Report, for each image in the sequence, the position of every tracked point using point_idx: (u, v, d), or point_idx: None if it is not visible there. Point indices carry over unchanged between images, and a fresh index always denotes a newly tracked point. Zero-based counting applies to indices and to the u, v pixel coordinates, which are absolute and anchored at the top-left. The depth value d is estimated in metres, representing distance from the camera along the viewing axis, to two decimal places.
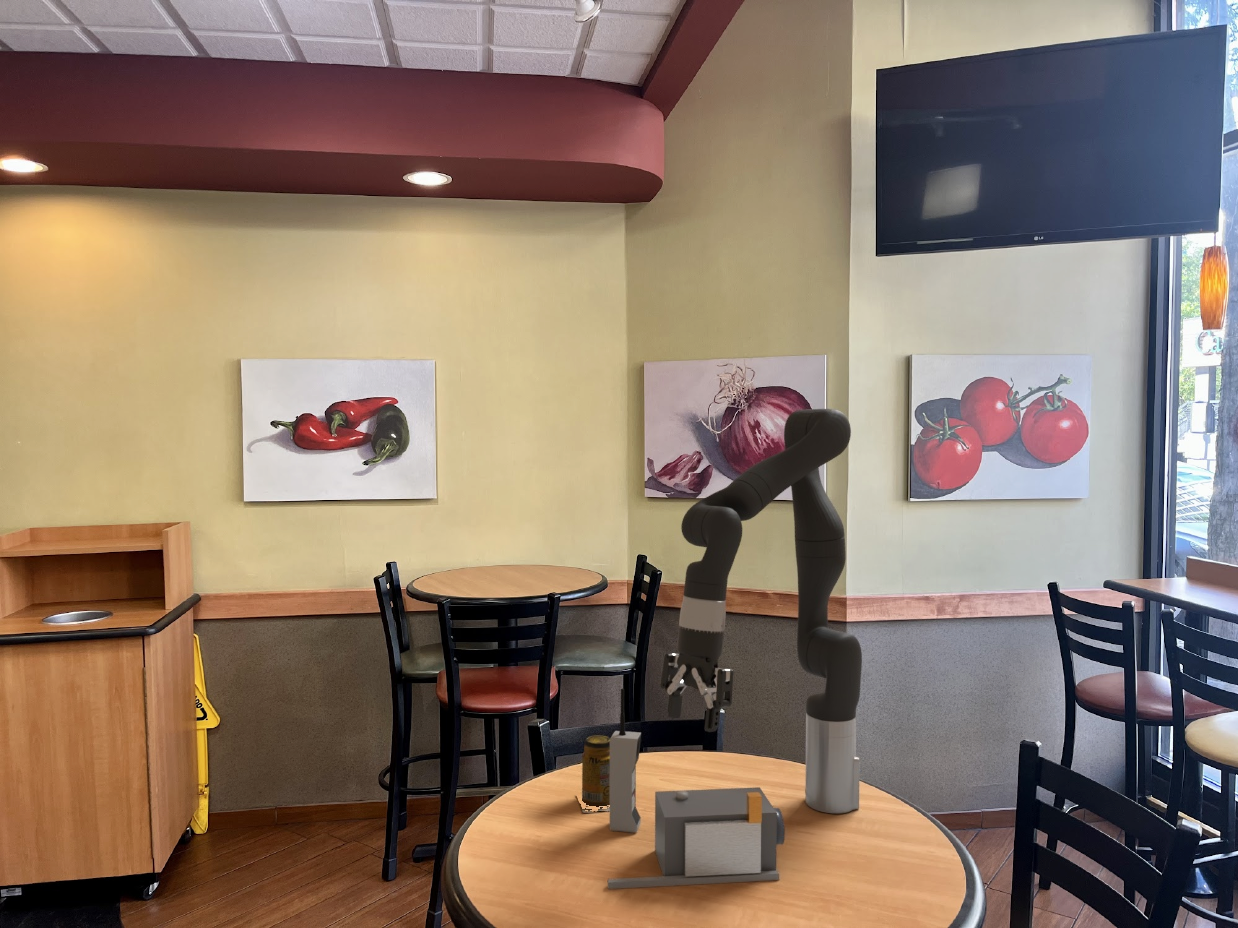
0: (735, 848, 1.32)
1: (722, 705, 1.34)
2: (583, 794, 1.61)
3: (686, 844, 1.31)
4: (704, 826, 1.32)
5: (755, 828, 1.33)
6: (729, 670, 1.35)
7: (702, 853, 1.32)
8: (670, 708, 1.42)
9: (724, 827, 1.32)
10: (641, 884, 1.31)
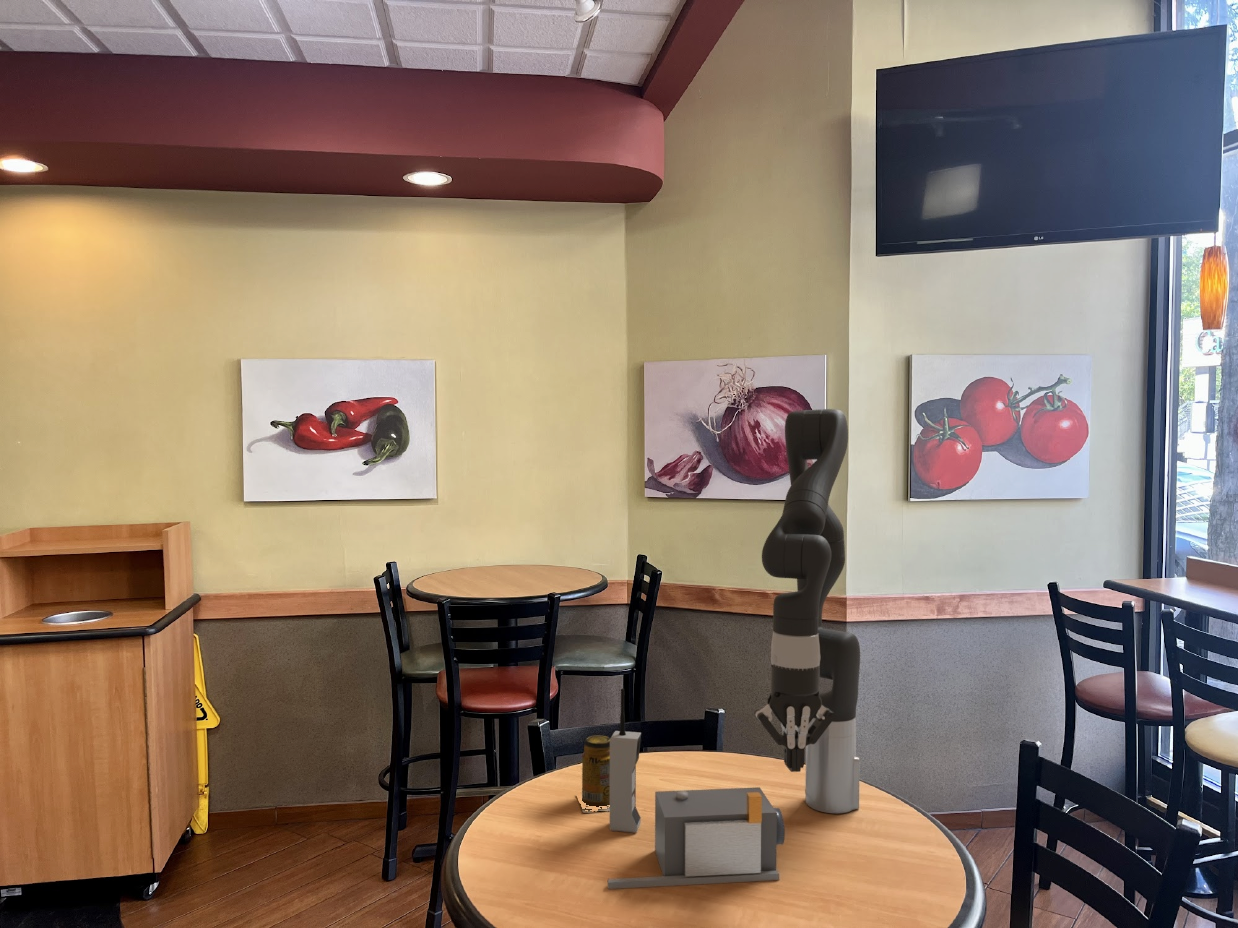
0: (735, 848, 1.32)
1: None
2: (583, 794, 1.61)
3: (686, 844, 1.31)
4: (704, 826, 1.32)
5: (755, 828, 1.33)
6: None
7: (702, 853, 1.32)
8: (794, 762, 1.32)
9: (724, 827, 1.32)
10: (641, 884, 1.31)
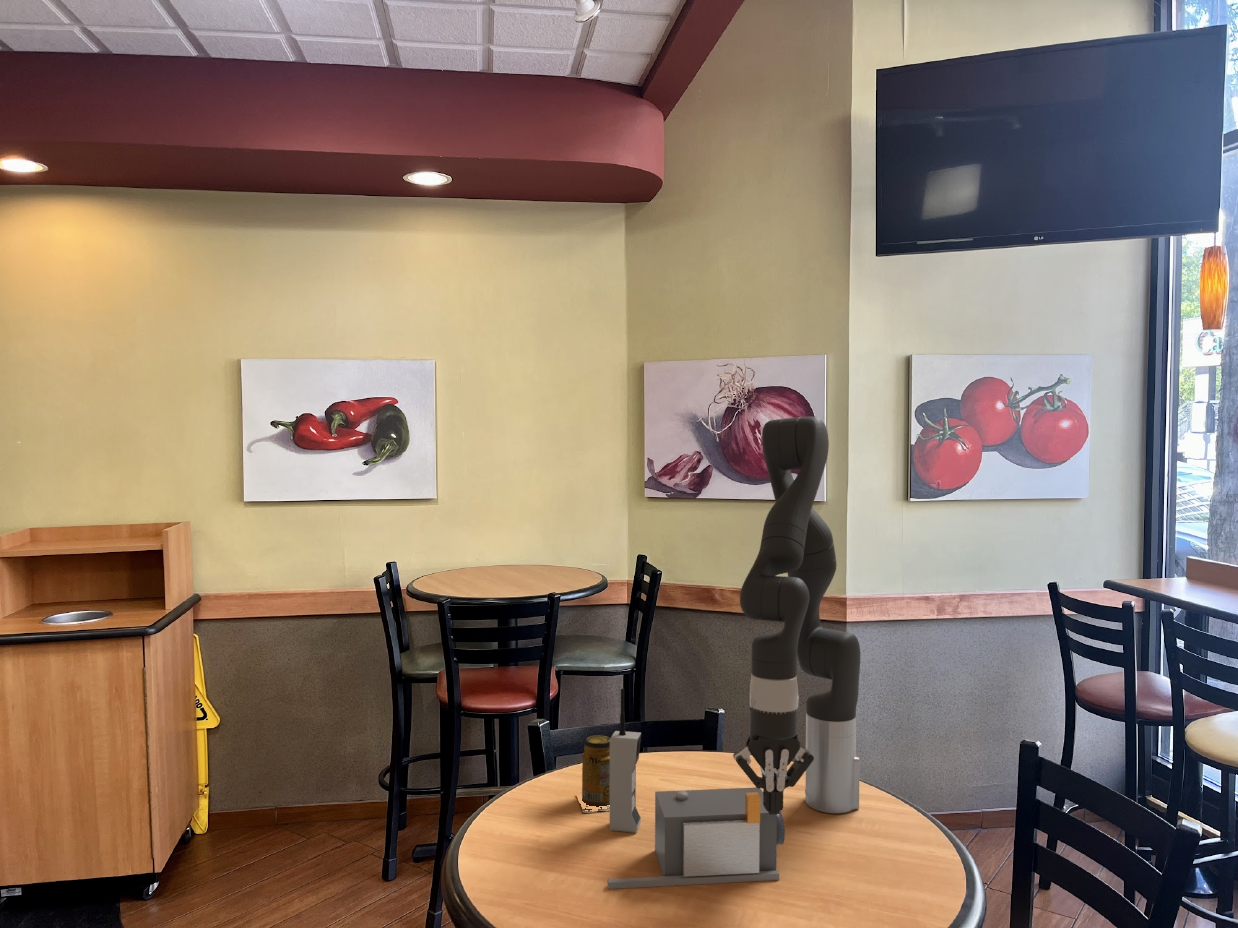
0: (733, 848, 1.32)
1: None
2: (583, 794, 1.61)
3: (684, 844, 1.31)
4: (702, 826, 1.32)
5: (754, 828, 1.33)
6: None
7: (701, 853, 1.32)
8: (773, 805, 1.32)
9: (722, 827, 1.32)
10: (641, 884, 1.31)
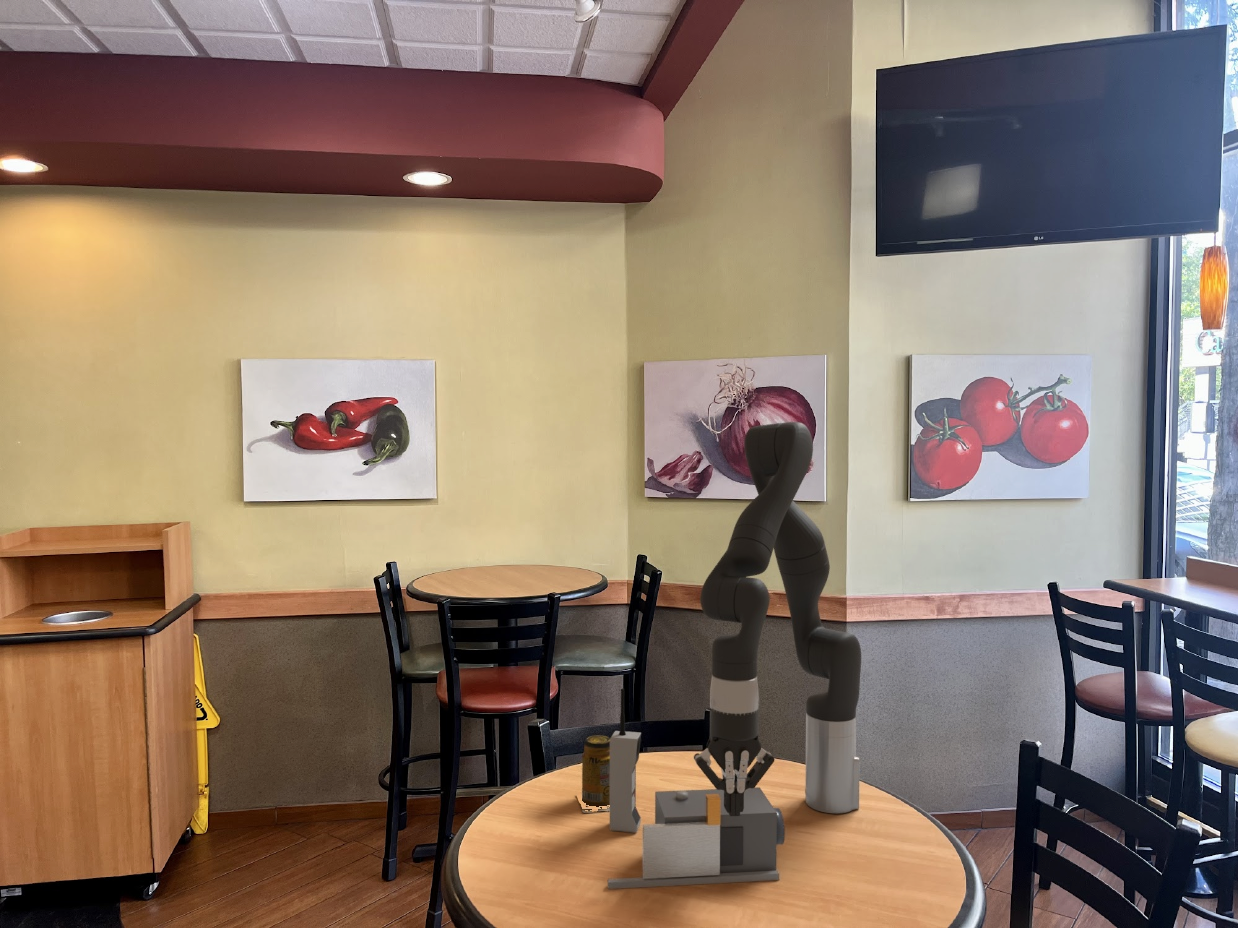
0: (694, 850, 1.32)
1: None
2: (583, 794, 1.61)
3: (644, 846, 1.31)
4: (662, 828, 1.31)
5: (714, 830, 1.32)
6: None
7: (661, 855, 1.31)
8: (733, 806, 1.31)
9: (683, 829, 1.31)
10: (641, 884, 1.31)
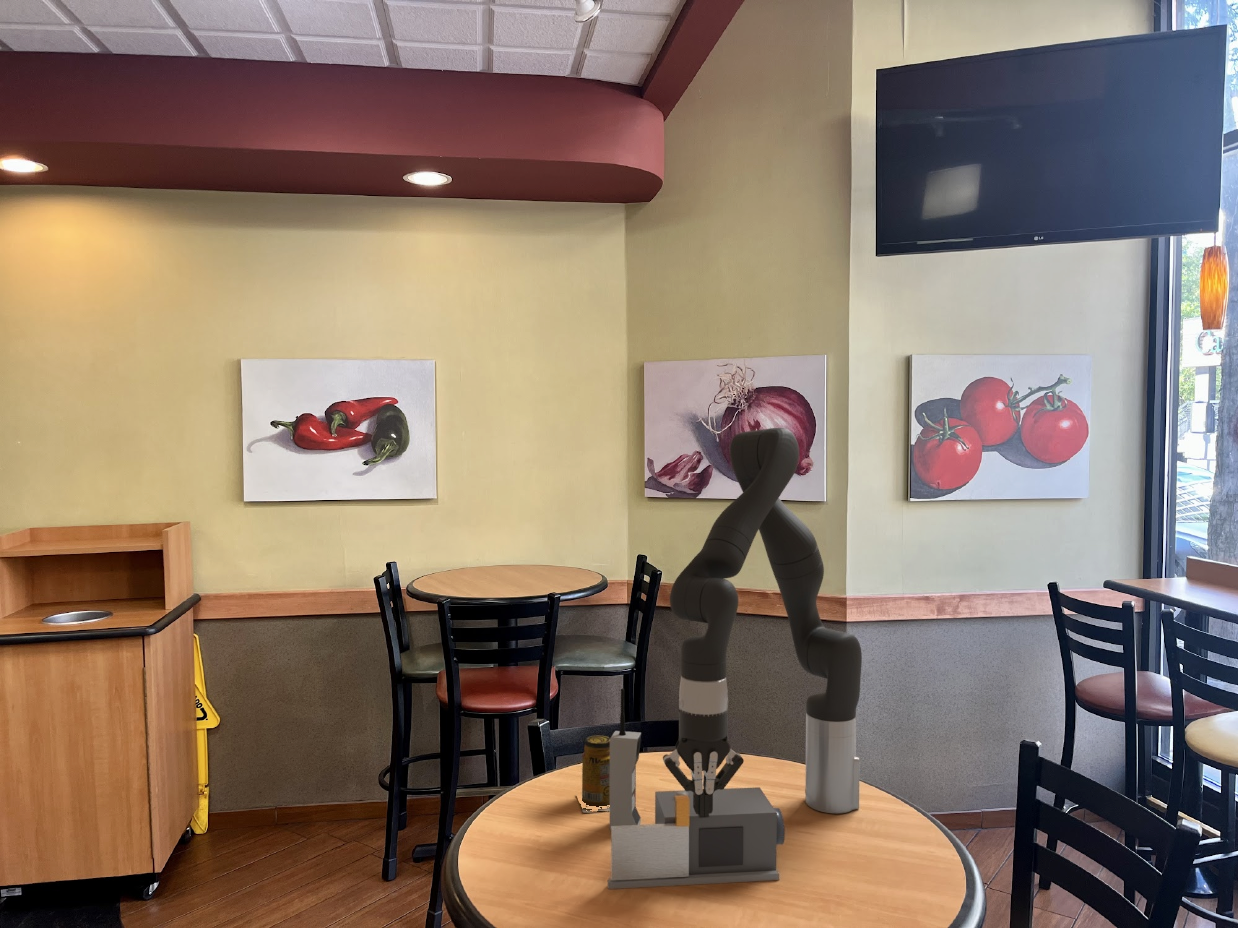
0: (662, 852, 1.31)
1: None
2: (583, 794, 1.61)
3: (612, 848, 1.30)
4: (631, 829, 1.30)
5: (683, 831, 1.31)
6: None
7: (629, 857, 1.31)
8: (702, 808, 1.31)
9: (651, 830, 1.31)
10: (641, 884, 1.31)
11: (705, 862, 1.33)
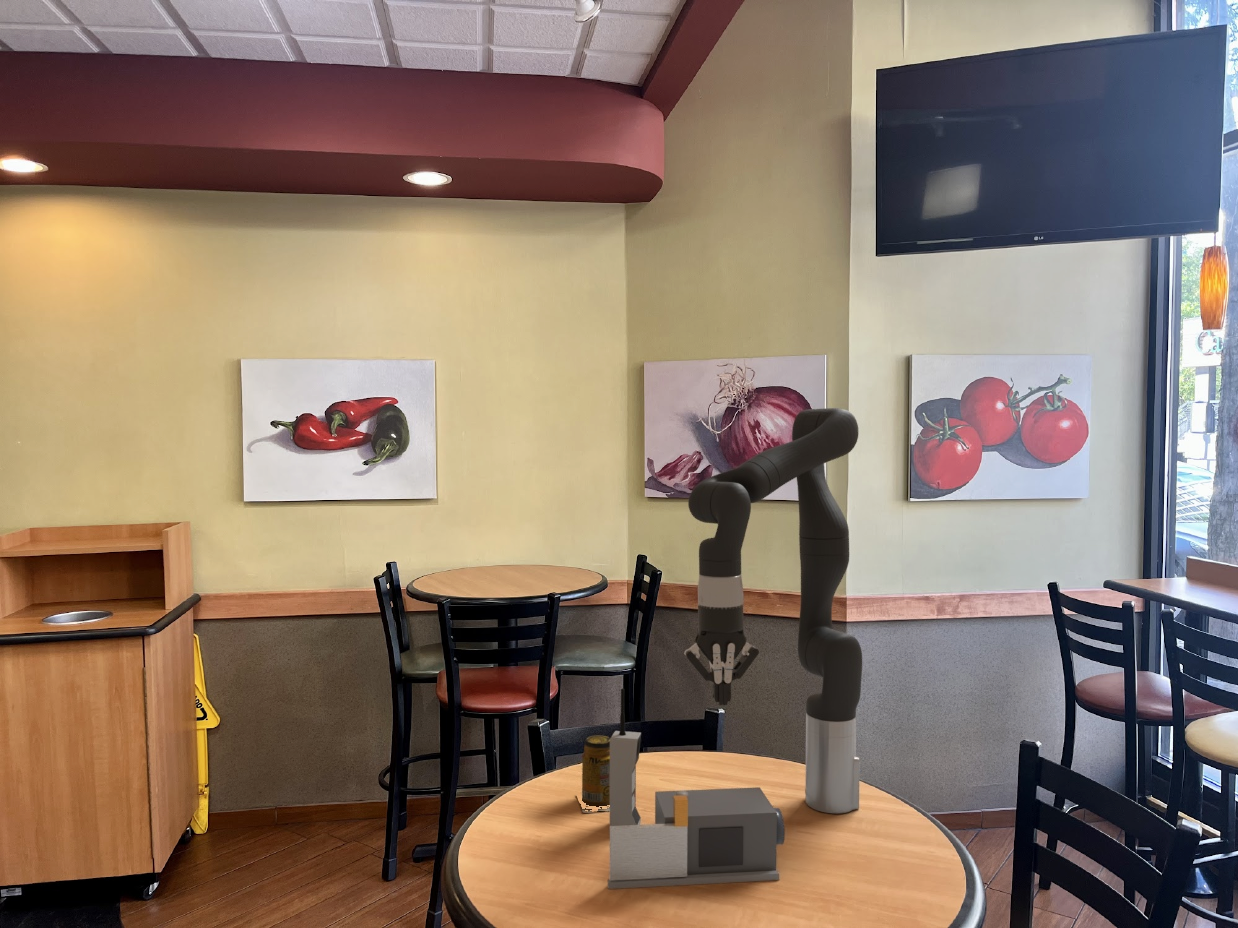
0: (661, 852, 1.31)
1: None
2: (583, 794, 1.61)
3: (611, 848, 1.30)
4: (629, 829, 1.30)
5: (681, 831, 1.31)
6: None
7: (628, 857, 1.31)
8: (721, 696, 1.41)
9: (650, 830, 1.31)
10: (641, 884, 1.31)
11: (705, 862, 1.33)
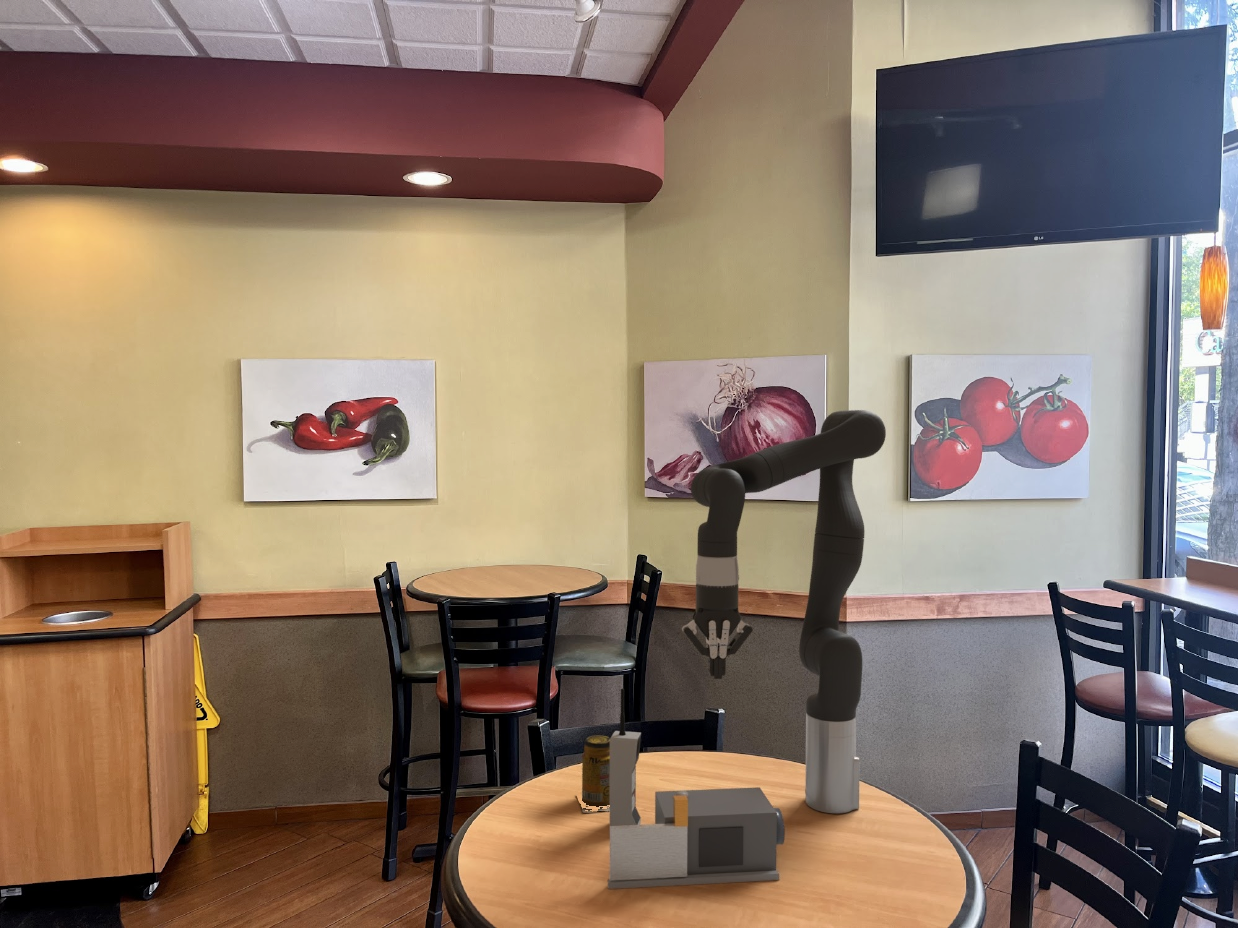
0: (661, 852, 1.31)
1: None
2: (583, 794, 1.61)
3: (611, 848, 1.30)
4: (629, 829, 1.30)
5: (681, 831, 1.31)
6: None
7: (628, 857, 1.31)
8: (716, 670, 1.49)
9: (650, 830, 1.31)
10: (641, 884, 1.31)
11: (705, 862, 1.33)
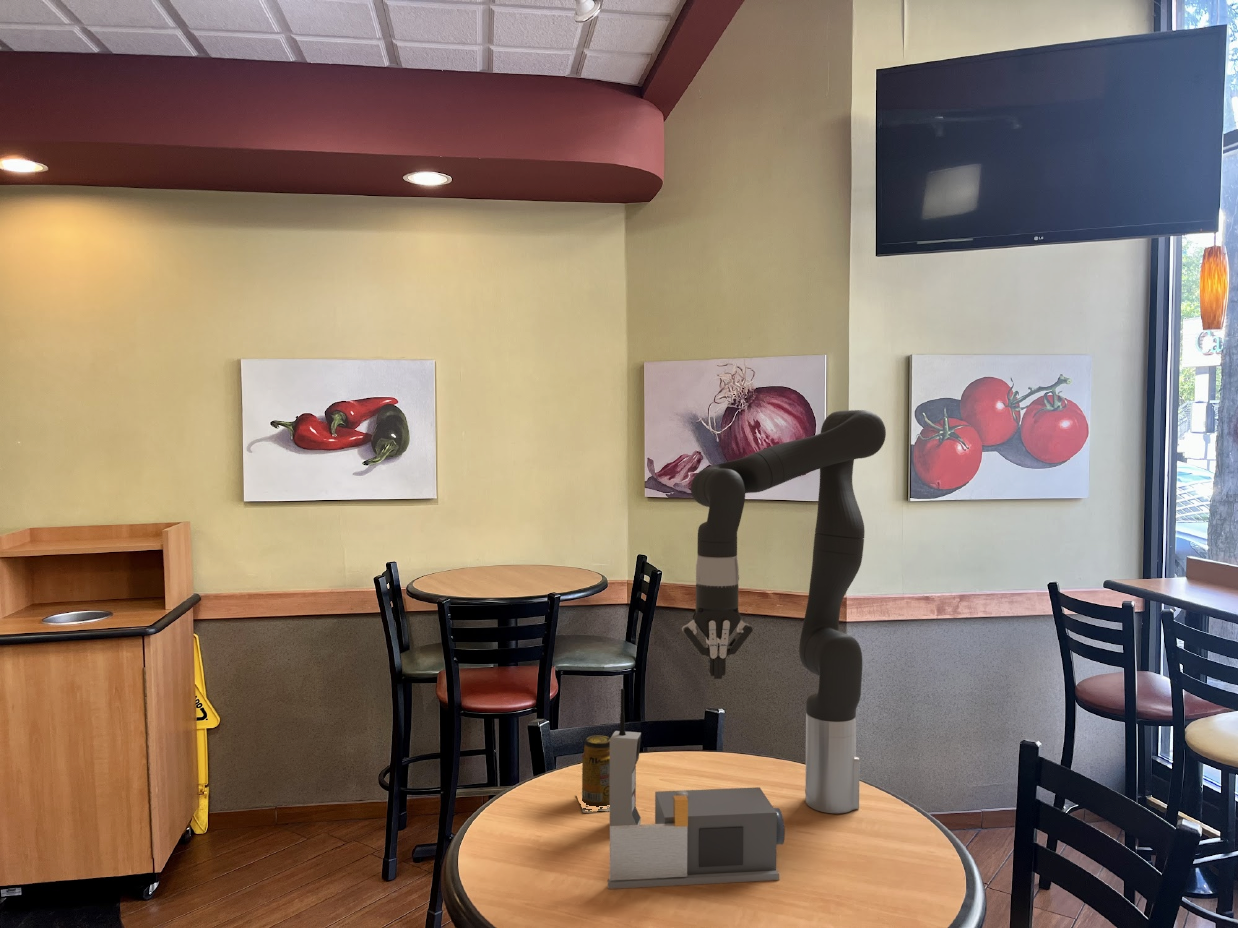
0: (661, 852, 1.31)
1: None
2: (583, 794, 1.61)
3: (611, 848, 1.30)
4: (629, 829, 1.30)
5: (681, 831, 1.31)
6: None
7: (628, 857, 1.31)
8: (716, 670, 1.49)
9: (650, 830, 1.31)
10: (641, 884, 1.31)
11: (705, 862, 1.33)
